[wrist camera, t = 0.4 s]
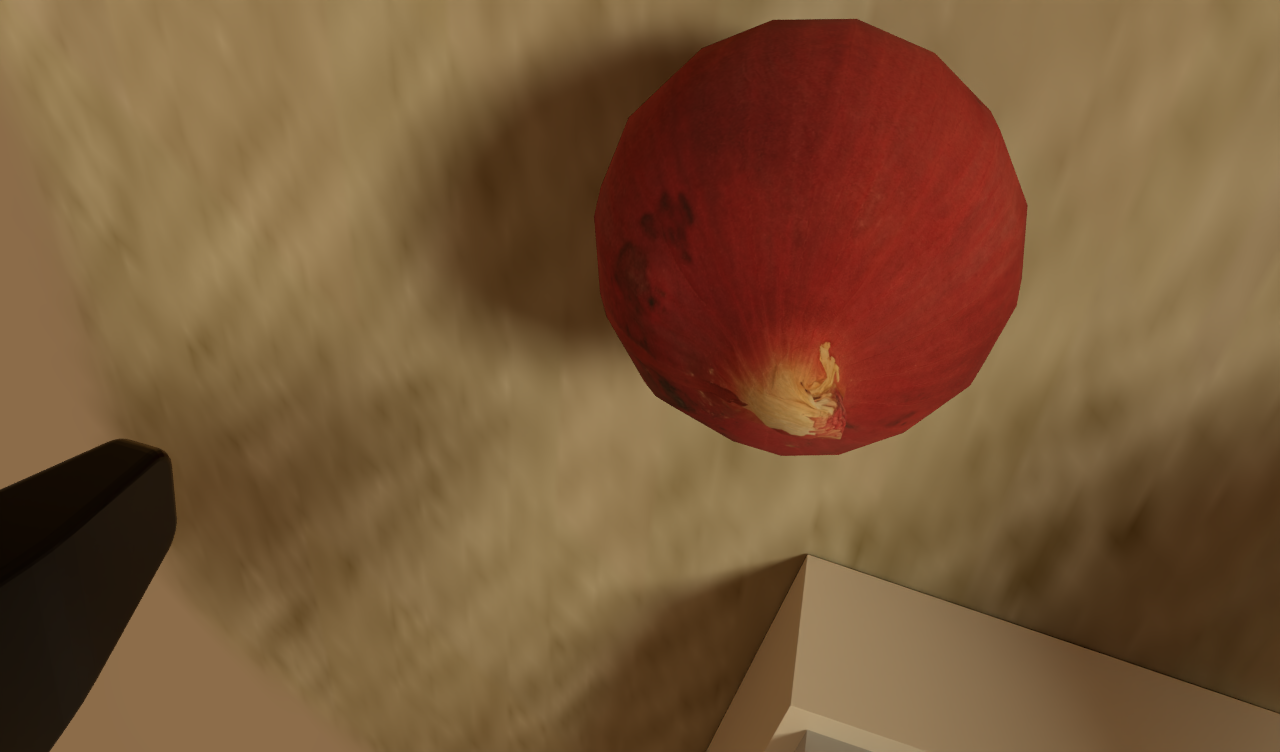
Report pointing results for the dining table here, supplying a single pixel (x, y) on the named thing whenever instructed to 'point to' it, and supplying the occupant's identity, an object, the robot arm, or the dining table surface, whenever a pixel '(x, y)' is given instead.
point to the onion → (810, 236)
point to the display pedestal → (957, 684)
